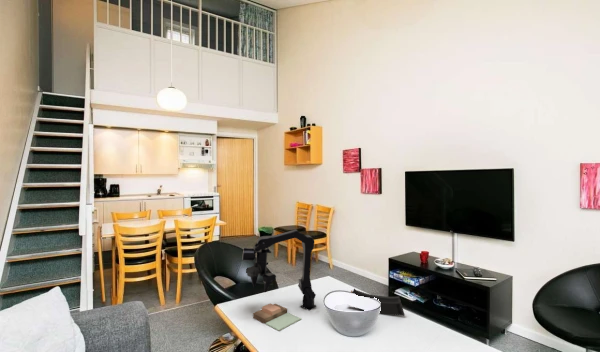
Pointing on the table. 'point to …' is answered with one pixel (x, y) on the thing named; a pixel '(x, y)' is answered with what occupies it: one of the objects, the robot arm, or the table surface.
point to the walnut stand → (268, 315)
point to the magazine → (385, 303)
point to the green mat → (283, 321)
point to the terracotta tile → (271, 309)
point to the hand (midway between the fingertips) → (259, 289)
